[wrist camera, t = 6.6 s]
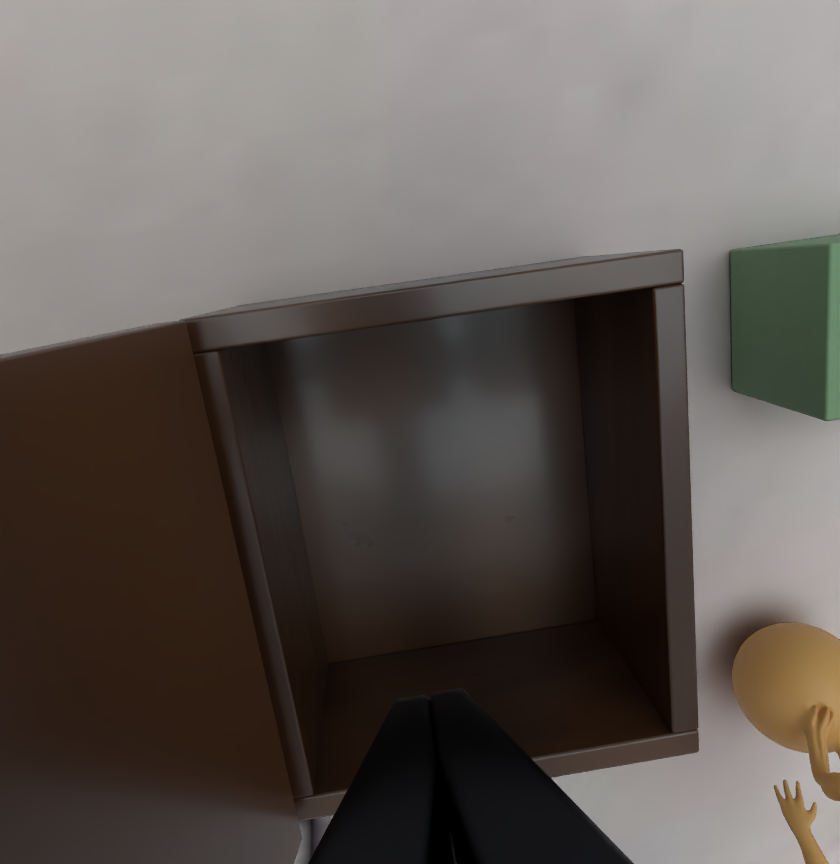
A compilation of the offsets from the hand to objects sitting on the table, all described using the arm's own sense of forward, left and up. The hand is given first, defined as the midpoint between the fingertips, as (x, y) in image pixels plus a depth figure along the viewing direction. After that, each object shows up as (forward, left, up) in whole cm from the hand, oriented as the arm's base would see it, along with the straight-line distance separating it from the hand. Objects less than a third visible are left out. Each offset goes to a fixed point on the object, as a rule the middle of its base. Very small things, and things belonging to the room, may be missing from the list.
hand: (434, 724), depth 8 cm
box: (-1, -1, -13) cm, 13 cm away
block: (+2, -13, -13) cm, 18 cm away
